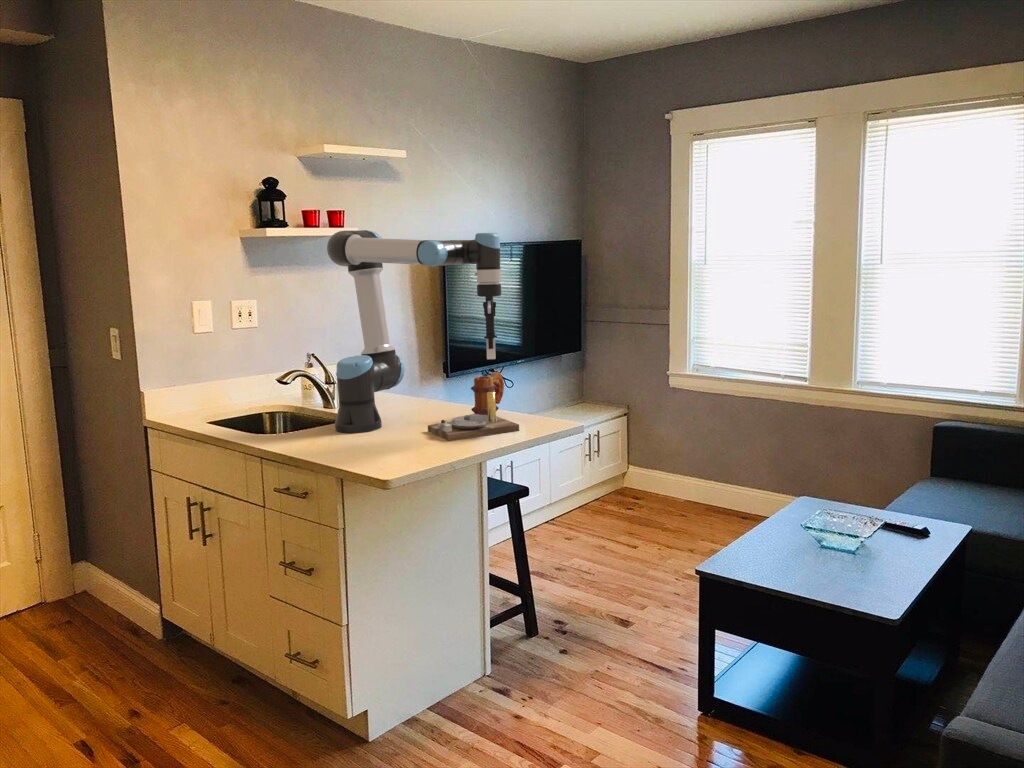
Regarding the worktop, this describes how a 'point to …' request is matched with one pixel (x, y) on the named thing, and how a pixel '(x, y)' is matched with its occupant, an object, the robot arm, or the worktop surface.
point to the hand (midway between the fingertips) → (491, 358)
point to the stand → (491, 428)
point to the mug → (484, 386)
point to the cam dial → (477, 416)
